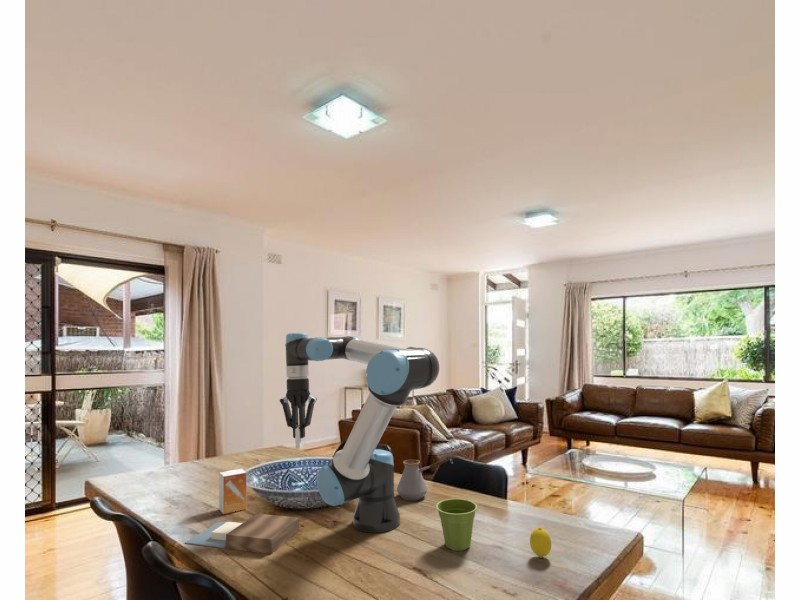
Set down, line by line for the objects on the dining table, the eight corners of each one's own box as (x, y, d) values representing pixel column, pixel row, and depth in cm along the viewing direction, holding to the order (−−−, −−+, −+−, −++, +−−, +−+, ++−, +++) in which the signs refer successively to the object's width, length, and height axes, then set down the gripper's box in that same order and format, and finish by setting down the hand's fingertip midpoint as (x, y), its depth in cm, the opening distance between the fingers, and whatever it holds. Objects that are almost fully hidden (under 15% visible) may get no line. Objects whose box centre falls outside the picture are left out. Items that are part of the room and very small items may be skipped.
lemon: (535, 551, 132) (534, 521, 133) (555, 556, 129) (553, 526, 129) (527, 558, 128) (525, 528, 128) (547, 565, 124) (545, 533, 125)
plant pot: (430, 541, 140) (429, 502, 141) (466, 534, 144) (464, 496, 145) (448, 558, 129) (447, 516, 130) (486, 550, 133) (485, 509, 134)
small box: (223, 515, 164) (223, 476, 165) (218, 509, 169) (218, 472, 170) (246, 509, 169) (246, 472, 169) (242, 504, 174) (241, 468, 175)
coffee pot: (393, 501, 174) (392, 459, 175) (401, 490, 185) (401, 451, 186) (450, 505, 168) (449, 462, 169) (456, 494, 179) (455, 454, 180)
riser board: (299, 530, 150) (298, 517, 150) (271, 554, 134) (271, 539, 134) (257, 526, 154) (257, 513, 154) (226, 548, 138) (226, 534, 139)
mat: (255, 526, 154) (255, 525, 154) (223, 548, 139) (223, 547, 139) (219, 522, 158) (219, 521, 158) (184, 543, 142) (184, 542, 142)
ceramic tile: (249, 530, 150) (249, 523, 150) (234, 541, 142) (234, 534, 142) (227, 528, 152) (227, 521, 152) (211, 538, 144) (211, 532, 145)
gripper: (275, 379, 162) (276, 450, 160) (311, 378, 159) (312, 450, 157) (285, 377, 169) (286, 445, 167) (319, 376, 166) (321, 445, 164)
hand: (299, 447), depth 162 cm, fingers closed
